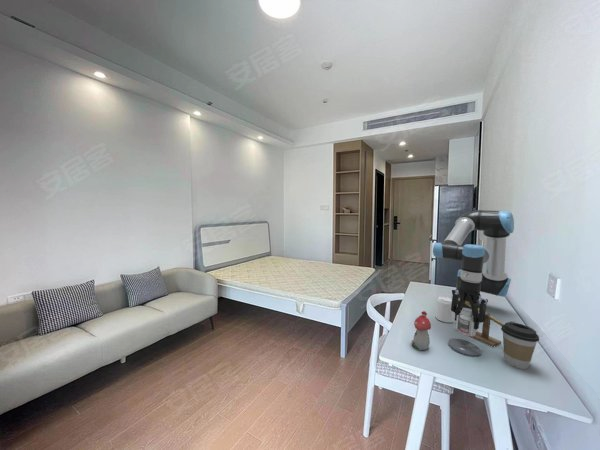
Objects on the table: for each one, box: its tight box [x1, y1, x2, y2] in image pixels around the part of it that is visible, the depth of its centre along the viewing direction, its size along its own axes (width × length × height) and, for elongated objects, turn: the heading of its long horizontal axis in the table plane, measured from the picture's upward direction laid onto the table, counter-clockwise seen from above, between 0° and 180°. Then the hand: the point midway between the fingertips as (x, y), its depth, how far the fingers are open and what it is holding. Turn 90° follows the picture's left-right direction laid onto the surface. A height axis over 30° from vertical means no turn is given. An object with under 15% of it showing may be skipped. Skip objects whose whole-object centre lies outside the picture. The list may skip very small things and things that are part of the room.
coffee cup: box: [500, 321, 540, 370], centre depth 97 cm, size 11×11×15 cm
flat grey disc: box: [447, 337, 482, 358], centre depth 107 cm, size 12×12×1 cm
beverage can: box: [435, 296, 454, 324], centre depth 133 cm, size 8×8×12 cm
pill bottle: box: [458, 308, 474, 337], centre depth 106 cm, size 5×5×10 cm
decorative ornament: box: [411, 310, 432, 351], centre depth 106 cm, size 9×7×15 cm
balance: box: [458, 298, 517, 348], centre depth 114 cm, size 7×26×16 cm, turn 27°
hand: (465, 331), depth 106 cm, fingers closed on pill bottle, 5 cm apart
